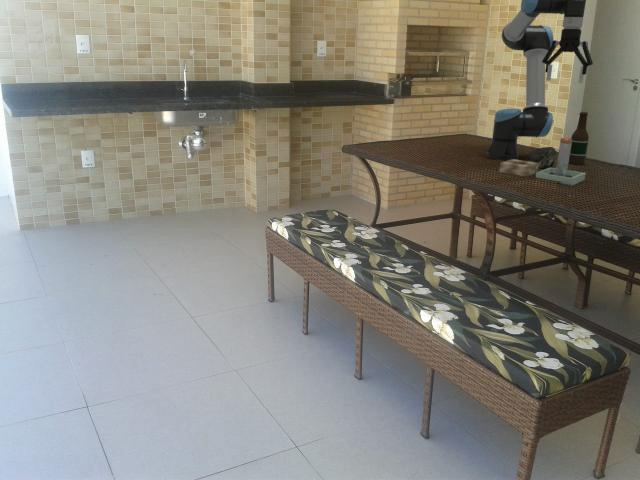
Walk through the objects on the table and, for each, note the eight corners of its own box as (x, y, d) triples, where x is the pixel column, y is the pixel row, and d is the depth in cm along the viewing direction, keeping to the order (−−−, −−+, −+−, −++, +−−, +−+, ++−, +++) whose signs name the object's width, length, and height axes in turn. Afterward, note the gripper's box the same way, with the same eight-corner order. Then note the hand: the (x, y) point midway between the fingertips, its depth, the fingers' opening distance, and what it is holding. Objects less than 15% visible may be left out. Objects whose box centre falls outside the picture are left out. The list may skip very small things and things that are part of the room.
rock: (560, 162, 276) (555, 143, 272) (560, 172, 269) (554, 152, 265) (533, 169, 282) (527, 150, 278) (532, 179, 275) (526, 159, 271)
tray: (535, 179, 254) (536, 172, 253) (549, 174, 265) (550, 167, 264) (571, 185, 245) (572, 178, 244) (584, 180, 255) (585, 173, 254)
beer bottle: (586, 165, 285) (594, 113, 277) (568, 164, 286) (576, 112, 278) (582, 162, 292) (591, 111, 284) (565, 161, 293) (573, 110, 286)
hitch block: (499, 174, 262) (500, 162, 261) (511, 170, 271) (512, 159, 269) (525, 178, 255) (527, 167, 253) (537, 174, 264) (538, 163, 262)
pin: (552, 178, 254) (559, 138, 249) (557, 176, 257) (563, 137, 252) (563, 180, 251) (569, 140, 246) (567, 178, 255) (573, 139, 249)
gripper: (538, 27, 255) (531, 80, 262) (600, 28, 240) (591, 84, 247) (545, 28, 261) (538, 79, 267) (606, 29, 245) (597, 83, 252)
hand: (564, 81), depth 257 cm, fingers open, 13 cm apart
